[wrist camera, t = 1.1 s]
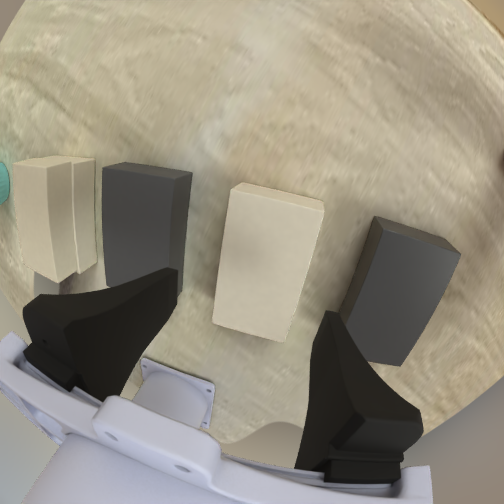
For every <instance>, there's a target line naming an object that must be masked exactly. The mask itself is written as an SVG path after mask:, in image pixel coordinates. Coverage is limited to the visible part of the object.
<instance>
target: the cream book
mask: <svg viewBox="0 0 504 504" xmlns="http://www.w3.org/2000/svg"><path fill="white" fill-rule="evenodd" d="M324 213H325V212H324V204H323V201H320V200H316V199H313V198H309V197H305V196H301V195H297V194H293V193H288V192H284V191H280V190H276V189H271V188H267V187H262V186H258V185H253V184H249V183H244V182H242V183H240V184H238V185H237V186H235V187H234V188H232V189H231V190H230V195H229V201H228V207H227V214H226V220H225V227H224V234H223V241H222V248H221V255H220V262H219V269H218V276H217V284H216V291H215V299H214V307H213V315H212V323H213V324H216V325H220V326H223V327H226V328H230V329H233V330H236V331H240V332H243V333H247V334H251V335H254V336H258V337H262V338H265V339H269V340H273V341H277V342H281V343H285V340H286V337H287V334H288V331H289V328H290V325H291V322H292V319H293V316H294V313H295V310H296V307H297V304H298V301H299V298H300V295H301V292H302V289H303V285H304V282H305V279H306V276H307V272H308V269H309V266H310V262H311V259H312V256H313V252H314V249H315V245H316V242H317V238H318V235H319V231H320V228H321V224H322V220H323V217H324Z"/></svg>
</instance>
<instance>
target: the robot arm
mask: <svg viewBox="0 0 504 504" xmlns="http://www.w3.org/2000/svg"><path fill="white" fill-rule="evenodd" d="M177 291H178V270H176V269H172V268H169V267H166V268H163V269H160V270H158V271H155V272H152V273H150V274H148V275H145V276H142V277H140V278H137V279H135V280H132V281H129V282H126V283H123V284H120V285H117V286H114V287H111V288H107V289H103V290H98V291H92V292H86V293H79V294H66V295H49V294H48V295H47V294H40V295H39V296H37V297H36V298H35V299H33V300H32V301H31V302H30V303H28V304H27V305H26V306H25V307H23V319H24V322H25V325H26V328H27V330H28V333H29V335H30V338H31V340H32V343H31V344H30V345H29V346H28V345H27V344H26V342H25V341H24V340H23V339H22V338H21V337H19V336H18V335H17V334H16V333H14V332H13V331H11V332H10V333H9V334H8V335H6V336H5V337H4V338H3V339H2V340H1V341H0V391H1V392H2V393H3V394H4V395H5V396H6V397H7V398H8V400H9V401H11V403H12V404H14V406H15V407H17V408H18V409H19V410H20V411H21V412H22V413H23V414H24V415H25V416H26V417H27V418H28V419H29V420H30V421H31V422H32V423H33V424H34V425H35V426H37V427H38V428H39V429H40V430H41V431H42V432H43V433H45V434H46V435H47V436H48V437H49V438H50V439H52V440H53V441H54V442H55V443H57V444H58V445H59V446H60V447H59V448H58V450H57V451H56V453H55V454H54V456H53V457H52V458H51V460H50V461H49V463H48V464H47V465H46V467H45V469H44V470H43V471H42V473H41V474H40V476H39V477H38V479H37V480H36V482H35V483H34V485H33V486H32V488H31V489H30V491H29V492H28V494H27V495H26V497H25V498H24V500H23V501H22V503H21V504H433V497H432V496H433V495H432V483H431V474H430V466H429V465H424V466H410V467H405V468H402V469H400V462H402V461H403V460H404V456H403V452H405V451H406V450H407V449H408V448H409V447H411V446H412V445H413V444H414V443H416V442H417V440H418V439H419V438H420V437H421V436H422V434H423V432H424V430H423V423H422V418H421V413H420V410H419V409H417V408H416V407H415V406H413V405H412V404H410V403H409V402H407V401H406V400H405V399H403V398H402V397H401V396H400V395H398V394H397V393H396V392H395V391H394V390H393V389H392V388H390V387H389V386H388V385H387V384H386V383H385V382H384V381H383V380H382V379H381V378H380V376H379V375H378V374H377V373H376V372H375V371H374V370H373V368H372V367H371V366H370V365H369V363H368V362H367V361H366V359H365V358H364V356H363V355H362V353H361V352H360V350H359V349H358V347H357V346H356V344H355V342H354V341H353V339H352V337H351V336H350V334H349V332H348V330H347V328H346V326H345V324H344V322H343V320H342V319H341V317H340V315H339V313H336V312H331V311H327V310H326V312H325V315H324V317H323V320H322V322H321V324H320V327H319V329H318V332H317V334H316V337H315V339H314V341H313V346H312V352H311V359H310V382H309V402H308V410H307V415H306V421H305V426H304V431H303V435H302V440H301V444H300V448H299V452H298V456H297V460H296V463H295V467H294V469H292V468H286V467H280V466H275V465H270V464H265V463H260V462H256V461H252V460H247V459H244V458H240V457H236V456H232V455H229V454H225V453H222V452H221V451H222V449H221V447H220V445H219V442H218V441H217V440H216V439H215V438H213V437H212V436H211V435H209V434H208V433H206V432H204V431H202V430H200V429H199V428H200V427H202V428H205V429H208V428H209V426H210V420H211V413H212V406H213V400H214V393H215V385H214V384H213V383H211V382H208V381H205V380H202V379H199V378H196V377H193V376H190V375H187V374H185V373H182V372H179V371H177V370H174V369H171V368H169V367H166V366H164V365H161V364H159V363H156V362H154V361H151V360H149V359H146V358H142V359H141V360H140V362H141V369H142V375H143V382H144V383H143V384H142V386H141V387H140V389H139V390H138V392H137V393H136V395H135V396H134V398H133V399H132V401H131V400H129V399H126V398H123V397H120V394H121V392H122V390H123V388H124V386H125V383H126V381H127V380H128V378H129V376H130V374H131V372H132V370H133V368H134V367H135V365H136V363H137V362H138V360H139V358H140V356H141V355H142V353H143V352H144V351H145V349H146V348H147V346H148V345H149V344H150V343H151V341H152V340H153V339H154V337H155V336H156V335H157V334H158V332H159V331H160V330H161V329H162V327H163V326H164V325H165V323H166V322H167V321H168V319H169V318H170V316H171V314H172V312H173V311H174V309H175V307H176V305H177Z"/></svg>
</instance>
